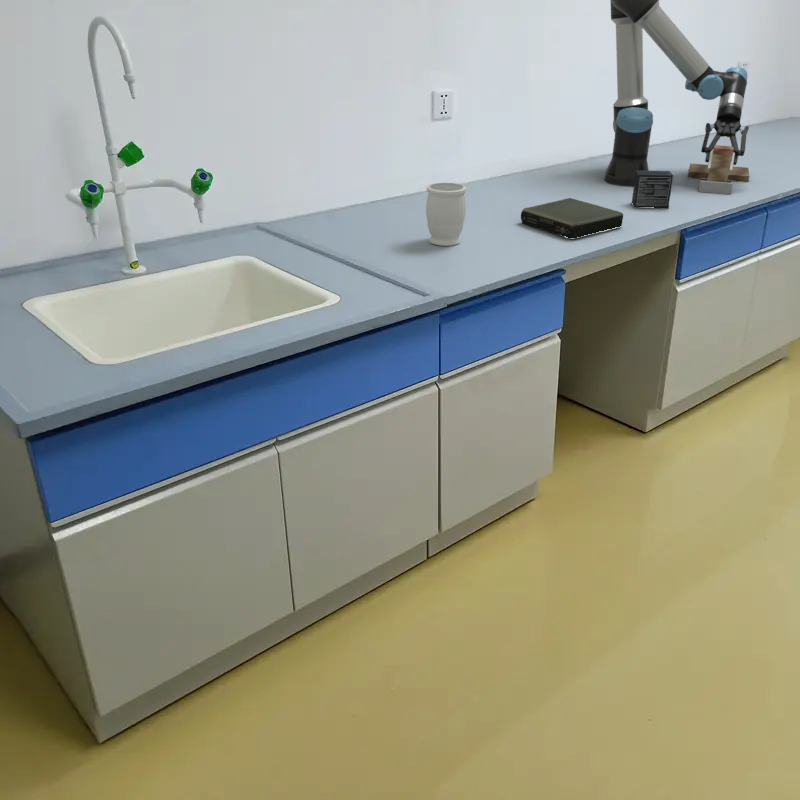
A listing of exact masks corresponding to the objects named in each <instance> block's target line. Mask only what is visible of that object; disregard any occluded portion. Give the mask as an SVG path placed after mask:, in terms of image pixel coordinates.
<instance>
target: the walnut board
mask: <svg viewBox="0 0 800 800" xmlns="http://www.w3.org/2000/svg"><path fill="white" fill-rule="evenodd" d="M707 168H708V164H702V163H689V167H688V174H687V178H688V177H692V178H691V179H700V178H708V173H707ZM749 179H750V171H749V167H744V166H743V167H741V166H733V168H732V172H731V175H729V174H728V178H727V180H732V182H739V181H743V183H749Z"/></svg>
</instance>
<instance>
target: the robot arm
mask: <svg viewBox="0 0 800 800" xmlns="http://www.w3.org/2000/svg"><path fill="white" fill-rule="evenodd" d="M610 20H611V21H612V22H613V23H614V24H615V40H616V41H615V45H616V47H615V48H616V82H617V83H616V85H617V89H616V91H617V99H616V101H615V102H614V103H613V104H612V105H613V107H612V109H613V121H612V128H613V131H614V140H613V149H612V155H611V159H610V162H609V164H608V165H607V168H606V171H605V172H604V176H603V177H604V182H607V183H608V184H612V185H616V186H622V187H623V186H625V187H634V182H635V174H636V170H643V171H650V170H649V164H648V156H649V155H648V154H649V147H650V141H651V133H652V127H653V124H654V115H653V113H652V111H651V110H649V100H648V99H647V98H646V97H645V96H644V49H643V48H644V47H643V46H644V44H643V43H644V42H643V40H644V39H643V34H644V33H643V30H644V32H645V33H646V34H647V35H648V36H649V37H650V38H651V39H652V41H653V42H654V43H655V44H656V45H657V47H658V48H659V49H660V50H661V51H662V53H664V55H665V56H666V57H667V58H668V60H669V61H670V62H671V63H672V64H673V65H674V66H675V68H677V70H678V71H679V73H681V75H682V76H683V77H684V79H686V80H685V84H684V88H685V89H686V90H687V91H691V92H693V93H694V92H695V93H698V95H699V97H700V98H701V99H703V100H706V101H707V100H708V101H712V100H715V99H717V98H718V97H719V103H718V109H717V112H716V113H717V115H716V120H715V122H714V123H709V122H707V123H706V124H705V128H704V130H705V135H704V138H703V142H702V146H701V151H700V152H701V153H705V159H704V162H705V163H707V165H708V168H707V173H709V171H710V167H711V161H712V155H713V149H714V145H717V144H718V143H717V142H718V141H719V140H720V138H721V137H722V138H724V137H727V138H729V141H730V144H731V146H732V147H734V150H733V155H732V160H731V164H730V169H729V173H728V174H729V175H731V172H732V168H733V167H734V166H736V165H737V164H738V159H739V157H743V156H745V155H744V154H745V152H746V144H747V142H746V141H747V134H748V132H749V128H750V127H749V125H746V126H743V125H742V124H741V118H742V113H743V112H742V111H743V107H744V101H745V93H746V89H747V85H748V72H747V70H746V69H745V68H744V67H741V66H735V67H729V68H728V69H726V70H725V72H724V71H723V72H722V71H717V70H714V69H713V68H712V67H711V66H710V65H709V63H708V62H707V60H706V59H705V58H704V57H703V56H702V55H701V54H700V52H699V51H698V50H697V49H696V48H695V46H693V44H692V43H691V42H690V41H689V39H688V38H687V37H686V36H685V35H684V33H683V32H682V31H681V30H680V29H679V27H677V25H676V24H675V23H674V22H673V20H671V17H669V16H668V14H667V13H666V12H665V11H664V10H663V8H662V7H661V6H660V0H610ZM713 129H714V130H715V132H716V133H715V135H714V137H713V139H711V142H710V143H709V145H708V140H709V138H710V133H711V132H712V131H713ZM739 131H740V135H741V138H740V149H739V146H738V145H739V144H738V139H737V136H736V134H737V133H738V132H739ZM707 145H708V147H707Z"/></svg>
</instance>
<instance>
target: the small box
mask: <svg viewBox="0 0 800 800" xmlns="http://www.w3.org/2000/svg"><path fill="white" fill-rule="evenodd" d="M673 179H674V174H673V173H672V172H671V171H670V170H649V171H643V170H636V174H635V182H634V186H633V188H632V190H633V191H632V199H631V204H632V203H633V205H634V206H633V205H632V206H633V208H634V207H654V208H653V209H661V208H668V209H669V208H670V199H671V192H672V186H673Z"/></svg>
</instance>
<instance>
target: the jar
mask: <svg viewBox="0 0 800 800" xmlns="http://www.w3.org/2000/svg"><path fill="white" fill-rule="evenodd" d="M467 189H468V188H467V186H466V185H464V184H461V183H455V182H438V183H437V182H436V183H435V182H434V183H431V184H428V185H427V186H426V191H427V193H428V194H427V197H426V205H425V214H426V221H427V229H428V232H429V234H430V235H431V236H430V238H429V242H430V243H431V244H433V245H436V246H441V247H450V246H451V247H452V246H456V245H458V244H460V243H461V238H460V236H461V233H462V231H463V228H464V223H465V217H466V212H467V202H466V196H465V193H466V192H467Z"/></svg>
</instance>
